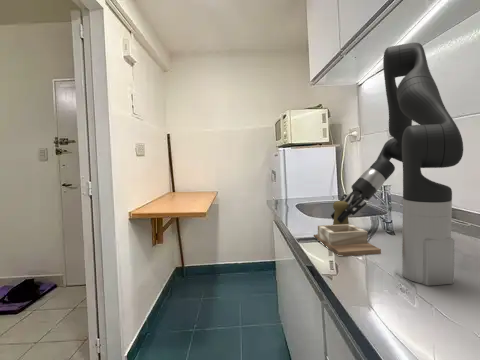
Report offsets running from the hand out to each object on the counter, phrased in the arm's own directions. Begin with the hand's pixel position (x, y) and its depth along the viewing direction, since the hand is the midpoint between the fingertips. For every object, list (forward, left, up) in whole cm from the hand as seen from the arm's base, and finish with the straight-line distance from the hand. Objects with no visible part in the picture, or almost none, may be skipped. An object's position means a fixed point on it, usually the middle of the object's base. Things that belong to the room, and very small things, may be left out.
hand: (335, 219), depth 116 cm
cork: (0, -2, -5) cm, 5 cm away
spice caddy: (-16, +4, -5) cm, 17 cm away
